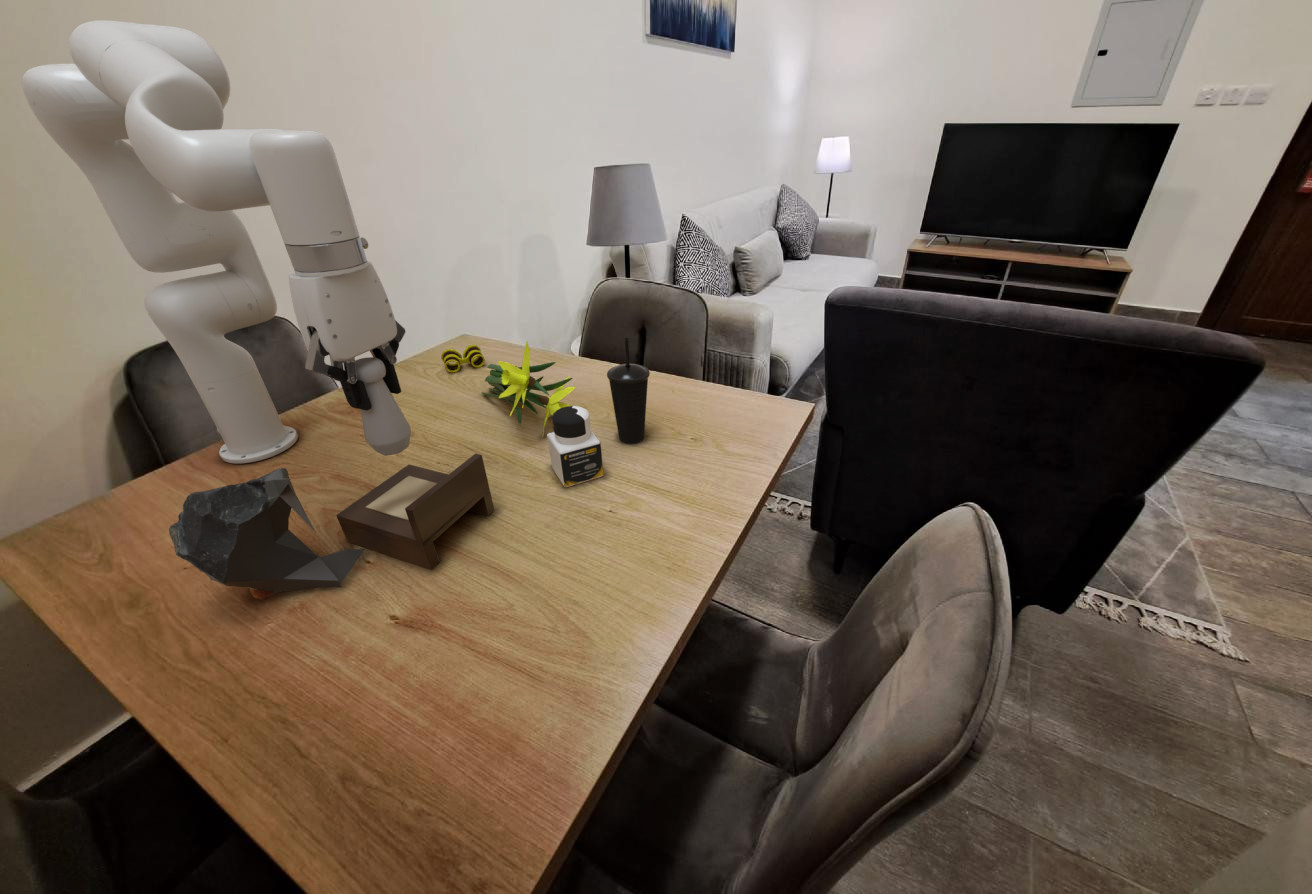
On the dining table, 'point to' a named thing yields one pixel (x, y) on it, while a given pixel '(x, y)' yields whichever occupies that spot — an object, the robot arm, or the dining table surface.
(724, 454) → the dining table surface
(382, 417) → the salt shaker
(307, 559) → the dark grey irregular lump
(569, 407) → the medicine bottle
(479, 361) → the opera glasses
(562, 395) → the daffodil flowers
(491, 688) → the dining table surface
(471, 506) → the dark wooden box
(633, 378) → the drinking cup
